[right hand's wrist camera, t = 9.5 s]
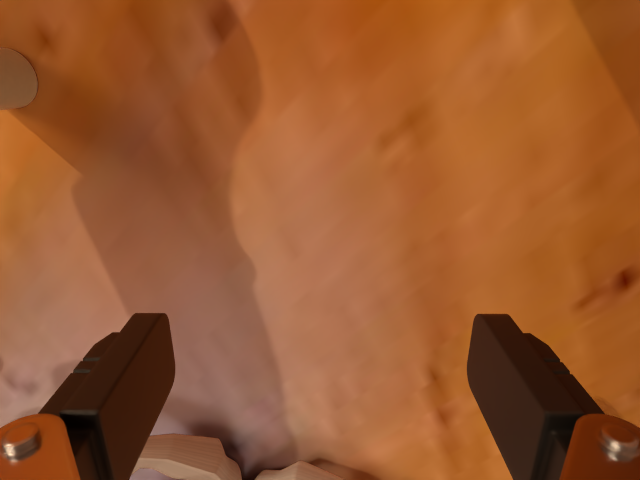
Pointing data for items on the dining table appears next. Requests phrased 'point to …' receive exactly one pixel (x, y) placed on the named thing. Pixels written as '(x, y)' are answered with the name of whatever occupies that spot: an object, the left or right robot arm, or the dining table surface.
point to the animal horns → (211, 461)
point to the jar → (16, 80)
